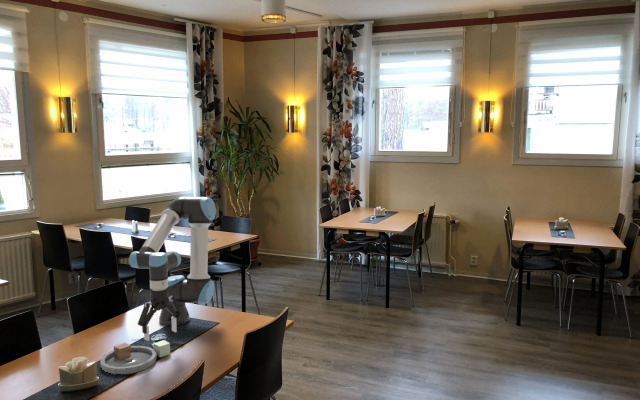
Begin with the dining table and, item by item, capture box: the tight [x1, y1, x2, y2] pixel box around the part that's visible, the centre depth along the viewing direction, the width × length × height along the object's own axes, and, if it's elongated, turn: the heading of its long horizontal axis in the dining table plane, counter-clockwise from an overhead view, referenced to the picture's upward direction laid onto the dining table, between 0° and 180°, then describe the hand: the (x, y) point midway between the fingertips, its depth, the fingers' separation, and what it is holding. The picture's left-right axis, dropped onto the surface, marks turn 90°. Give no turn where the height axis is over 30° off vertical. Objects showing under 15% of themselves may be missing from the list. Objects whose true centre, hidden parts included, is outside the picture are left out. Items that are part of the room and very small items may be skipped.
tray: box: [100, 345, 158, 375], centre depth 221 cm, size 22×22×3 cm
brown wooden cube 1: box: [113, 342, 132, 360], centre depth 225 cm, size 5×5×5 cm
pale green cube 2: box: [153, 339, 171, 358], centre depth 230 cm, size 5×5×5 cm
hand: (160, 335), depth 229 cm, fingers open, 13 cm apart
